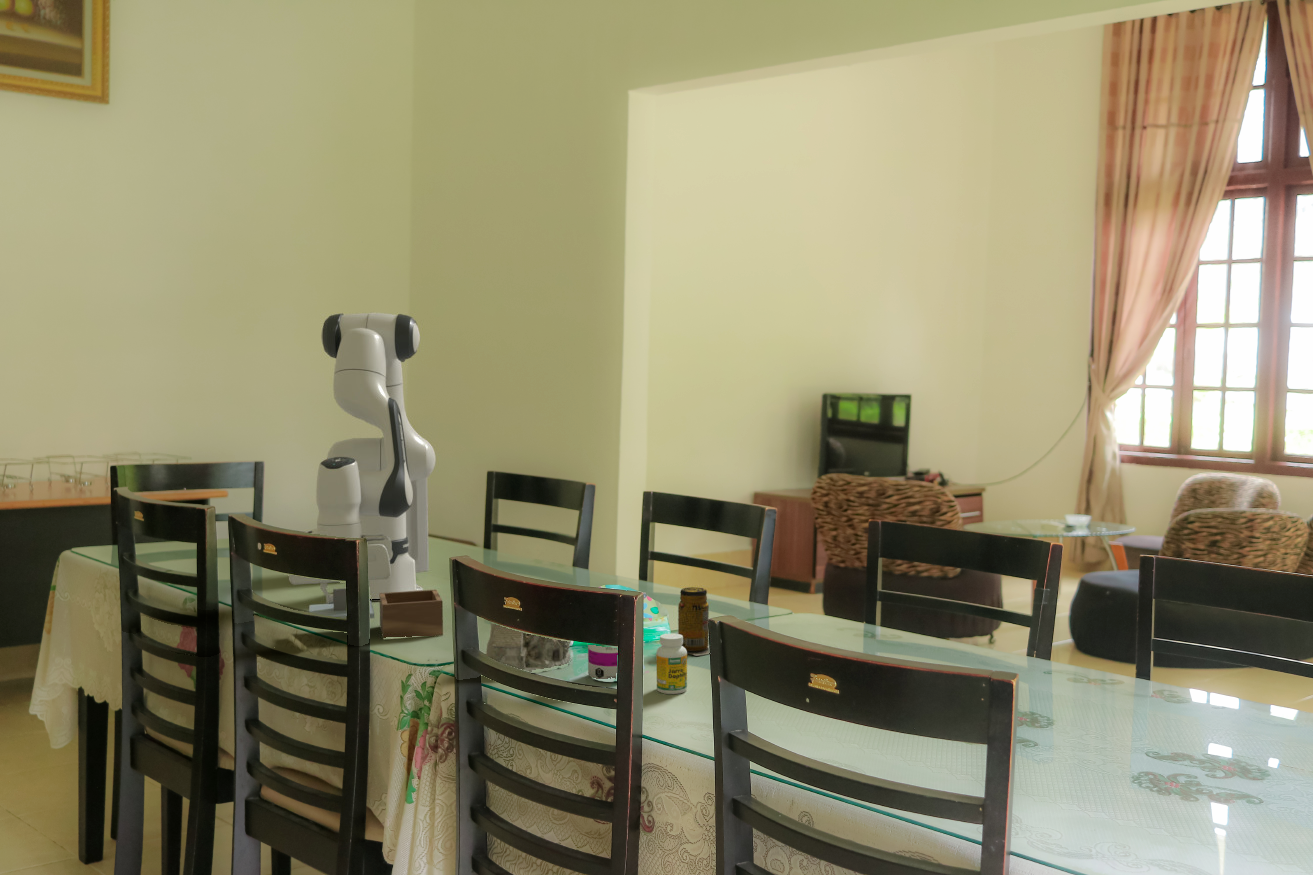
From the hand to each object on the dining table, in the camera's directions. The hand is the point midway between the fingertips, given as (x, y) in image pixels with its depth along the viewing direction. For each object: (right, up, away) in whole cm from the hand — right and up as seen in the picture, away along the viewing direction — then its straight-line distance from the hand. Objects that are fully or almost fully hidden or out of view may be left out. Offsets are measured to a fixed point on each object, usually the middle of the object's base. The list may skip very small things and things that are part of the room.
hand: (341, 602), depth 222 cm
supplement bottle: (+68, -10, -35) cm, 77 cm away
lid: (0, -2, 0) cm, 2 cm away
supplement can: (+57, -10, -27) cm, 64 cm away
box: (+14, -7, +4) cm, 16 cm away
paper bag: (-9, -3, +73) cm, 74 cm away
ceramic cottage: (+41, -9, -20) cm, 46 cm away
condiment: (+73, -8, -9) cm, 74 cm away
